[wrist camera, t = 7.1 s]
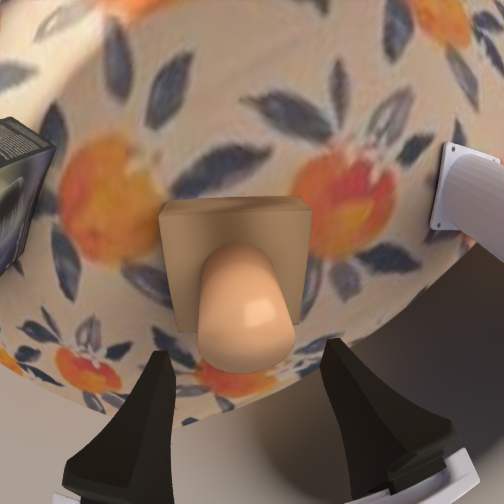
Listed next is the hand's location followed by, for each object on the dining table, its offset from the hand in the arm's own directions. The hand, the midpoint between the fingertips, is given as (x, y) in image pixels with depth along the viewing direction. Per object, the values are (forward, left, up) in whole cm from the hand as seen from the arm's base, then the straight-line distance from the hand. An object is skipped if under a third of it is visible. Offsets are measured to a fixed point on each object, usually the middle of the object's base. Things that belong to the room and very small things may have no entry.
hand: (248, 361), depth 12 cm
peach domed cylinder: (0, 0, -7) cm, 7 cm away
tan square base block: (0, 0, -10) cm, 10 cm away
